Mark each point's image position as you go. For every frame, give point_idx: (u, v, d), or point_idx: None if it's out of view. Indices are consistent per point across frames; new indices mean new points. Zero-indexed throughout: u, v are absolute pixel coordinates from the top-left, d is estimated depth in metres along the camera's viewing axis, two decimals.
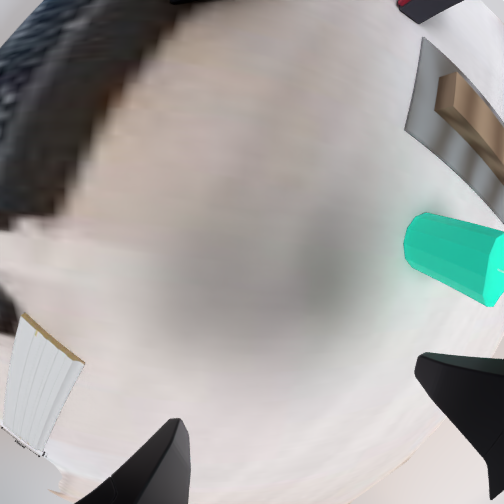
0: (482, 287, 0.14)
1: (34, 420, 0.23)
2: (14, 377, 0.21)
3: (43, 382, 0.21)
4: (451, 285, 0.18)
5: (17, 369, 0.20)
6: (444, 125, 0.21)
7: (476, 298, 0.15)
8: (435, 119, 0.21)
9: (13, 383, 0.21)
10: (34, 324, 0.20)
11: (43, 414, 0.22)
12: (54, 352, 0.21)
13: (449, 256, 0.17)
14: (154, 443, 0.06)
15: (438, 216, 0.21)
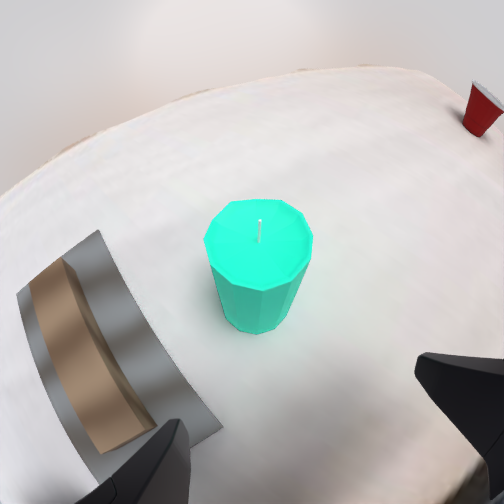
0: (311, 246, 0.15)
1: None
2: None
3: None
4: None
5: None
6: (150, 403, 0.19)
7: None
8: (162, 416, 0.18)
9: None
10: None
11: None
12: None
13: (294, 292, 0.18)
14: (154, 443, 0.06)
15: (242, 325, 0.21)
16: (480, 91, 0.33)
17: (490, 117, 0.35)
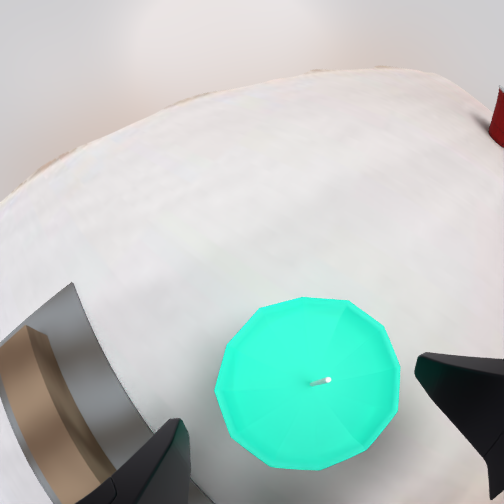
0: (396, 386, 0.07)
1: None
2: None
3: None
4: None
5: None
6: None
7: None
8: None
9: None
10: None
11: None
12: None
13: None
14: (154, 443, 0.06)
15: None
16: None
17: None
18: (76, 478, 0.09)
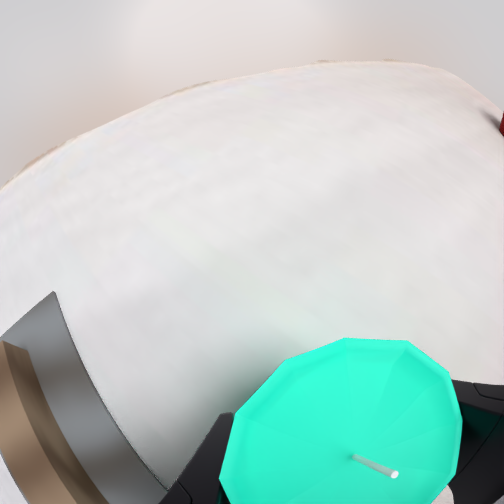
0: (455, 443, 0.04)
1: None
2: None
3: None
4: None
5: None
6: None
7: None
8: None
9: None
10: None
11: None
12: None
13: None
14: (214, 439, 0.06)
15: None
16: None
17: None
18: None
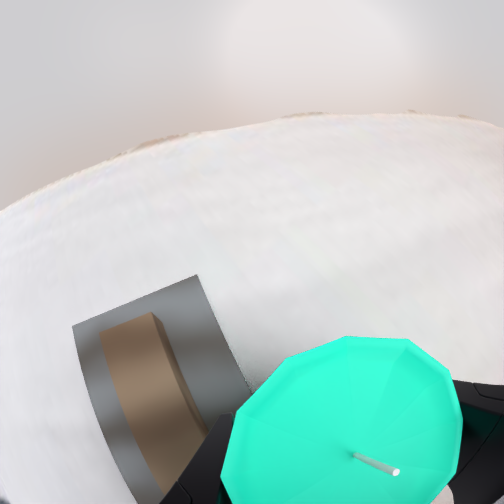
0: (456, 442, 0.04)
1: None
2: None
3: None
4: None
5: None
6: None
7: None
8: None
9: None
10: None
11: None
12: None
13: None
14: (214, 439, 0.06)
15: None
16: None
17: None
18: None
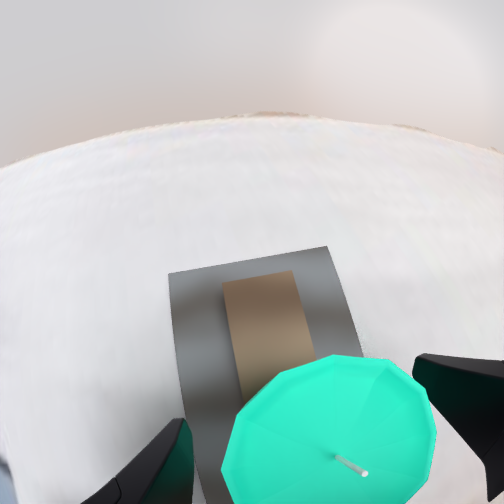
0: (429, 452, 0.05)
1: None
2: None
3: None
4: None
5: None
6: None
7: None
8: None
9: None
10: None
11: None
12: None
13: None
14: (158, 443, 0.06)
15: None
16: None
17: None
18: None
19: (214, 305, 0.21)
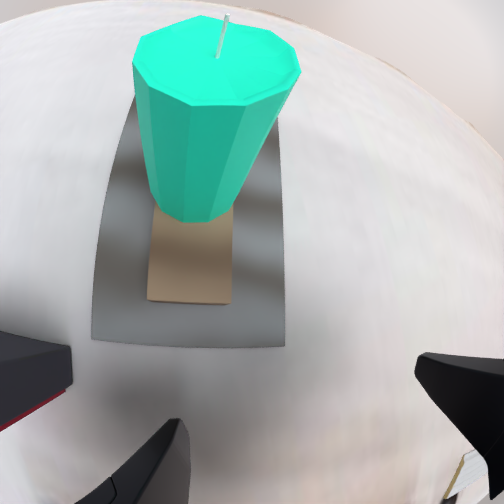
0: (294, 82, 0.08)
1: None
2: (477, 476, 0.21)
3: (477, 463, 0.21)
4: None
5: (473, 478, 0.20)
6: (233, 278, 0.19)
7: None
8: (236, 299, 0.19)
9: (480, 474, 0.21)
10: (448, 490, 0.19)
11: None
12: (461, 472, 0.20)
13: (247, 160, 0.11)
14: (154, 443, 0.06)
15: (164, 198, 0.14)
16: None
17: None
18: None
19: None
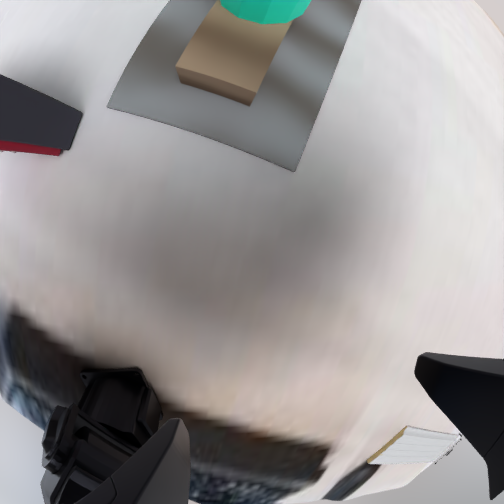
0: None
1: (435, 445, 0.33)
2: (404, 460, 0.32)
3: (412, 445, 0.30)
4: None
5: (399, 459, 0.31)
6: (269, 87, 0.16)
7: None
8: (264, 106, 0.16)
9: (407, 460, 0.32)
10: (375, 455, 0.29)
11: (432, 441, 0.32)
12: (395, 444, 0.29)
13: None
14: (154, 443, 0.06)
15: None
16: None
17: None
18: None
19: None
